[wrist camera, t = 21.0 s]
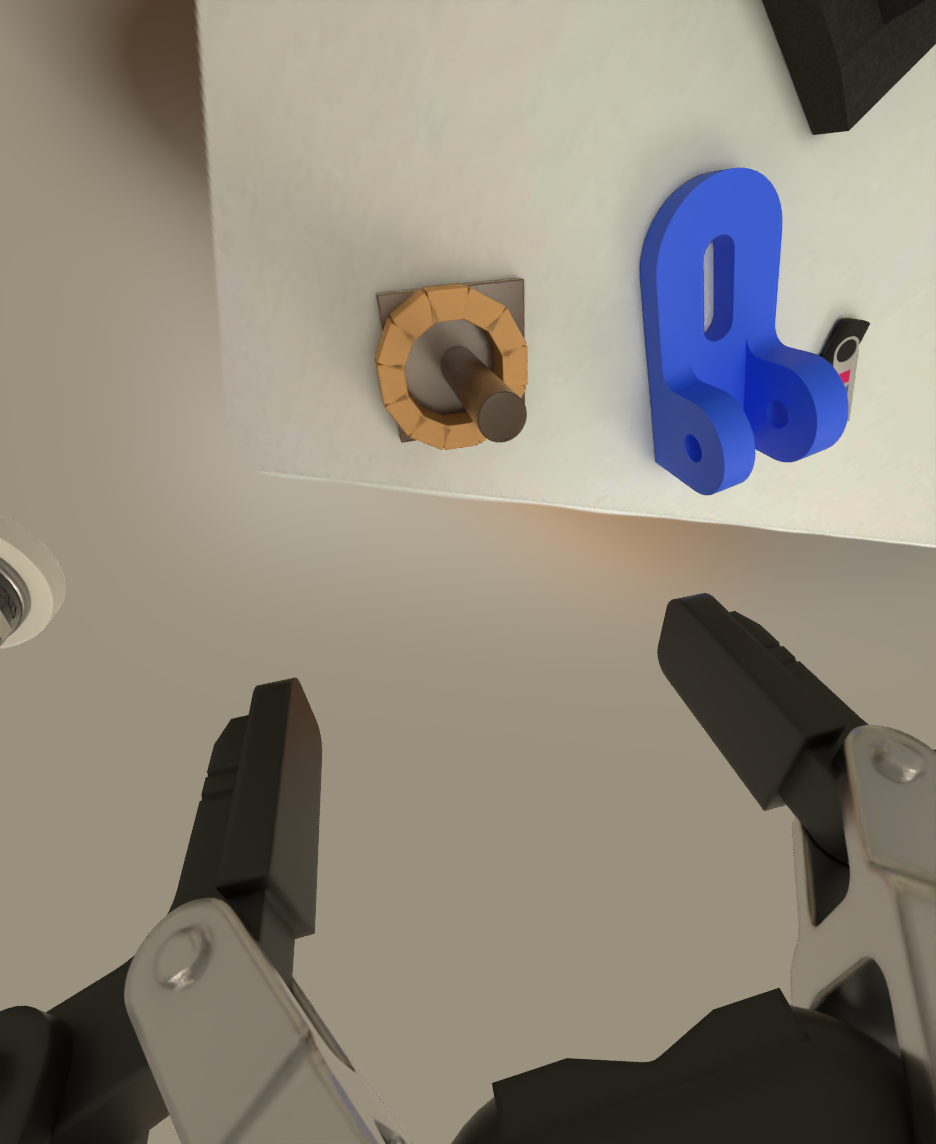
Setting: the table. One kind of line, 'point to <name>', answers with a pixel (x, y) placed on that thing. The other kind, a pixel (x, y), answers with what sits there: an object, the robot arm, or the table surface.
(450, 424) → the orange segmented ring
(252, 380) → the table surface
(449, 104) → the table surface
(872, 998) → the robot arm
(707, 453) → the bracket
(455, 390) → the brown peg stand
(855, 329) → the usb flash drive
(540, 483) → the table surface
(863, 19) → the camera
